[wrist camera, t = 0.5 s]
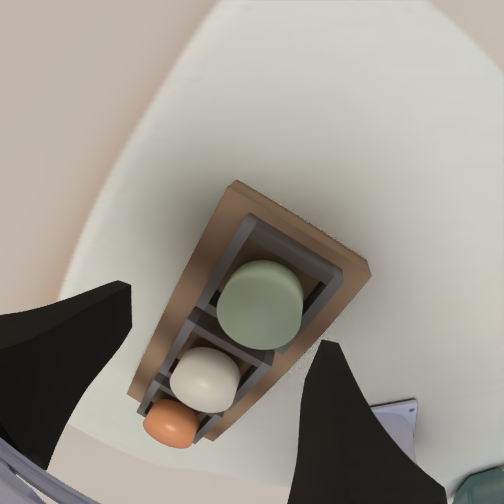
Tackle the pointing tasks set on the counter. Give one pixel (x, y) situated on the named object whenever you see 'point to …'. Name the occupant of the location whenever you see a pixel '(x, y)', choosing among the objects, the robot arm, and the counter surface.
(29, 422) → the robot arm
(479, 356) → the counter surface
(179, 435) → the terracotta button
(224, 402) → the cream button
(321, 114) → the counter surface
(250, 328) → the sage button
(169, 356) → the button board
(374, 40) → the counter surface
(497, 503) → the flower pot
